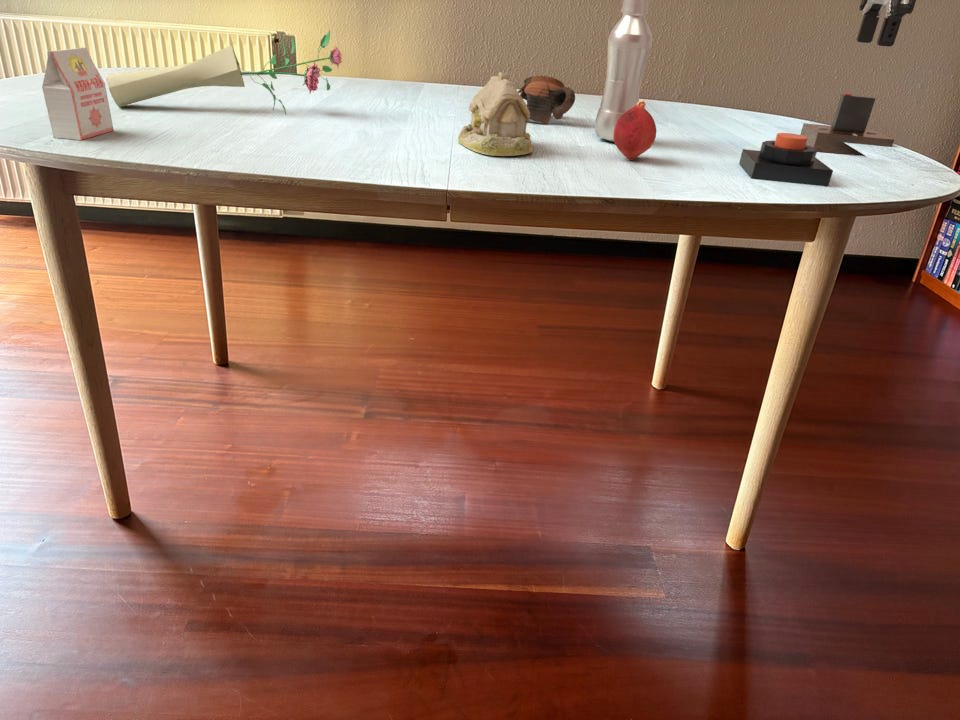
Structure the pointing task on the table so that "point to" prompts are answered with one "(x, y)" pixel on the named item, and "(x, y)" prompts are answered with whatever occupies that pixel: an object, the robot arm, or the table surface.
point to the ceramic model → (497, 120)
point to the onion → (635, 131)
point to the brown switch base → (841, 139)
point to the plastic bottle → (624, 66)
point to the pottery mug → (546, 98)
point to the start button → (791, 141)
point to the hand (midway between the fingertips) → (873, 44)
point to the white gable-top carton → (75, 95)
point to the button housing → (785, 165)
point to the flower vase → (206, 75)
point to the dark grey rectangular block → (852, 113)
